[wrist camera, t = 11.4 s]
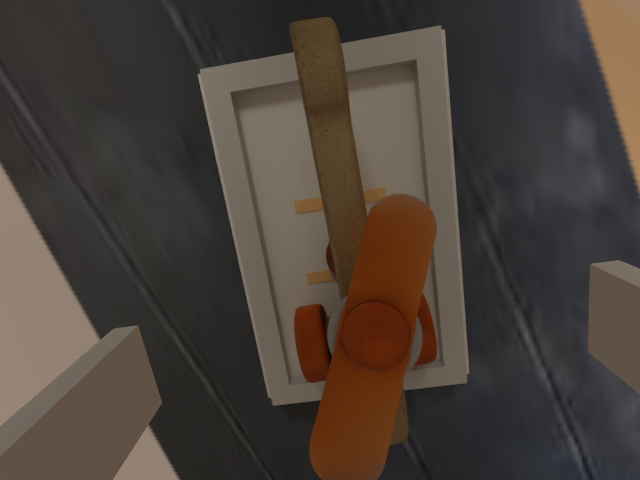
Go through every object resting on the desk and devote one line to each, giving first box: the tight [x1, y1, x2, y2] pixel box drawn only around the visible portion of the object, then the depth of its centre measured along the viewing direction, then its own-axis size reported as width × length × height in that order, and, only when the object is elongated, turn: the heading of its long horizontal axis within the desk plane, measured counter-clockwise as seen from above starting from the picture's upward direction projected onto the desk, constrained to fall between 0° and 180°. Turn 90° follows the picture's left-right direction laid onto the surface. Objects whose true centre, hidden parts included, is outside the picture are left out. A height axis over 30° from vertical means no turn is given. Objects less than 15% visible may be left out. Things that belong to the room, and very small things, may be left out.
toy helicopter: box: [289, 17, 437, 480], centre depth 18 cm, size 8×21×14 cm, turn 11°
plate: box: [198, 26, 469, 406], centre depth 25 cm, size 23×15×3 cm, turn 9°
